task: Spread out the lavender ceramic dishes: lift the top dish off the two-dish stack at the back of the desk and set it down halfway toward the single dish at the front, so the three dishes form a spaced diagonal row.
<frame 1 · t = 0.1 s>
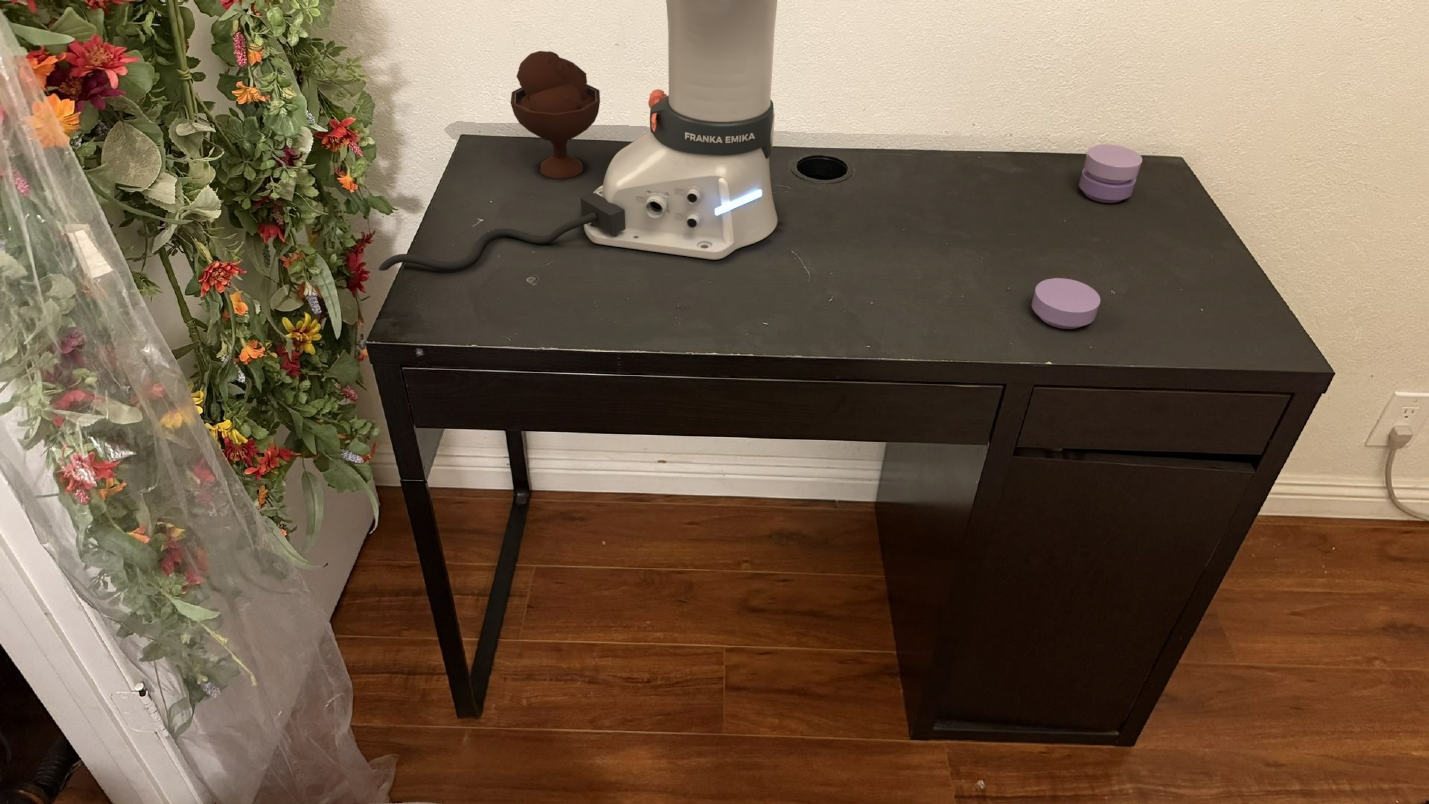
ice cream bowl: (561, 170, 126), on the table
dish bottom: (1103, 194, 124), on the table, touching dish top
dish front: (1061, 315, 102), on the table
dish top: (1109, 175, 122), point 3 cm above the table, touching dish bottom
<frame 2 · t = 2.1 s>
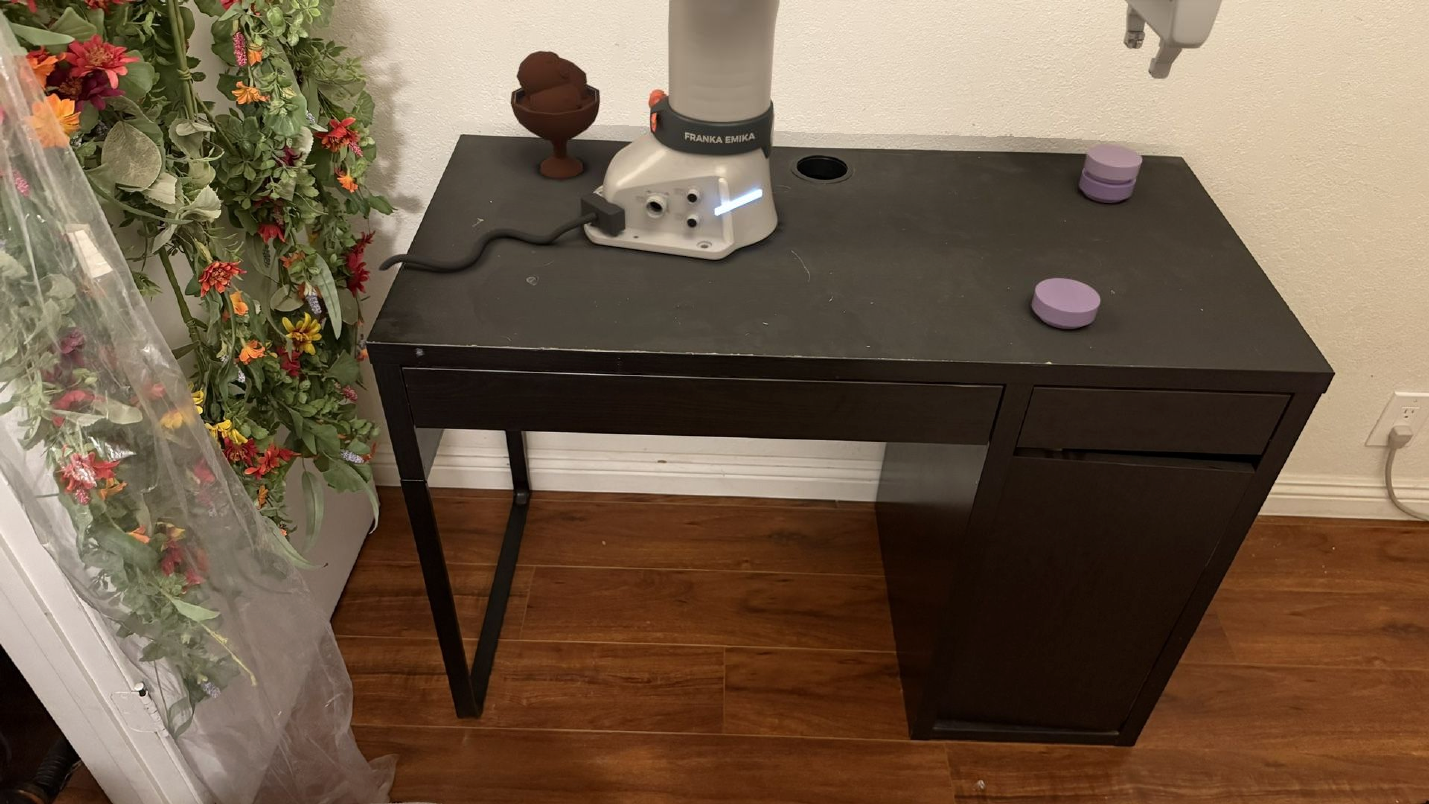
hand: (1144, 61, 113), 17 cm above the table, tool pointing down, fingers open, 8 cm apart
nothing on the table moved.
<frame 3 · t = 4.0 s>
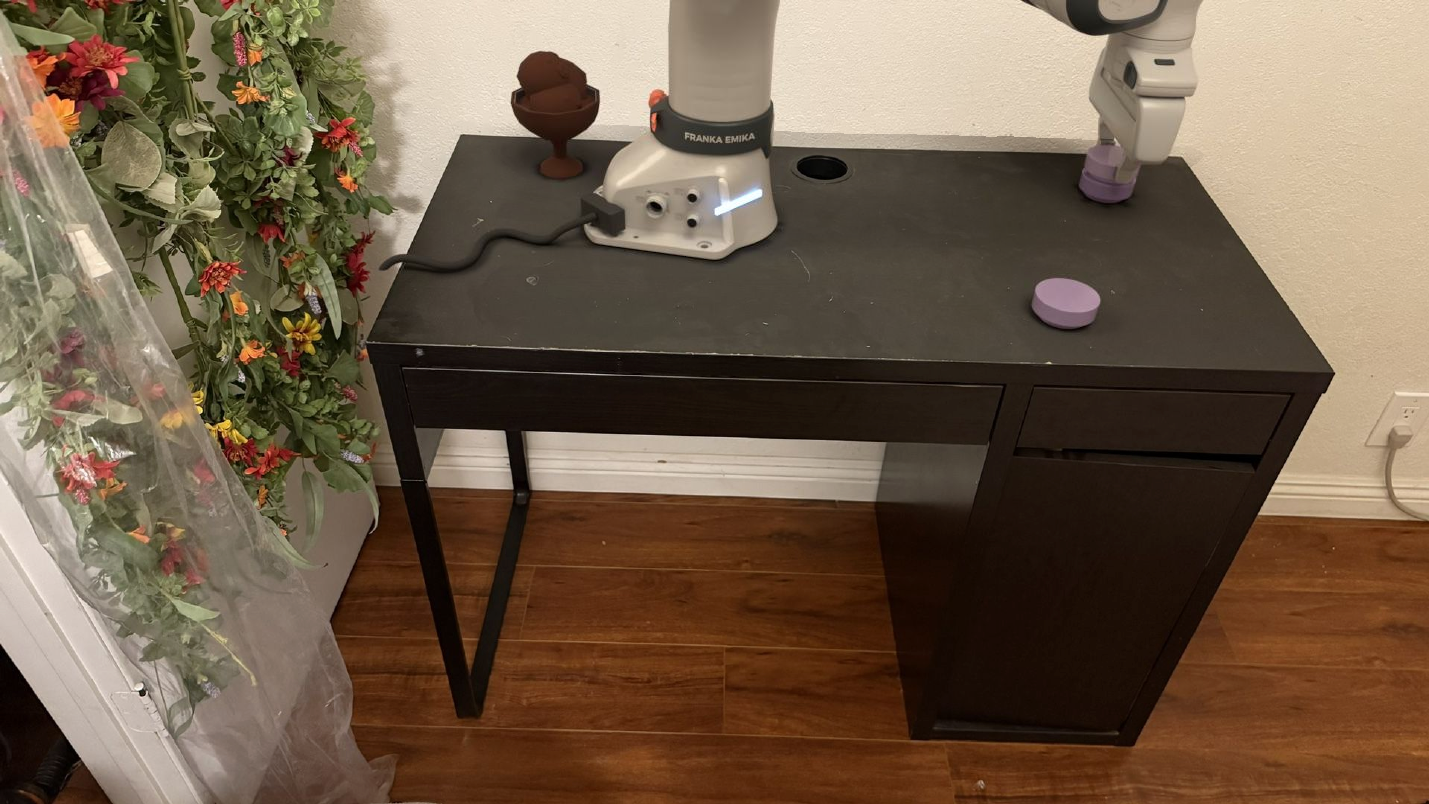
hand: (1112, 166, 121), 4 cm above the table, tool pointing down, fingers closed on dish top, 6 cm apart
dish top: (1109, 175, 122), point 3 cm above the table, touching dish bottom, gripper
everything else where it was.
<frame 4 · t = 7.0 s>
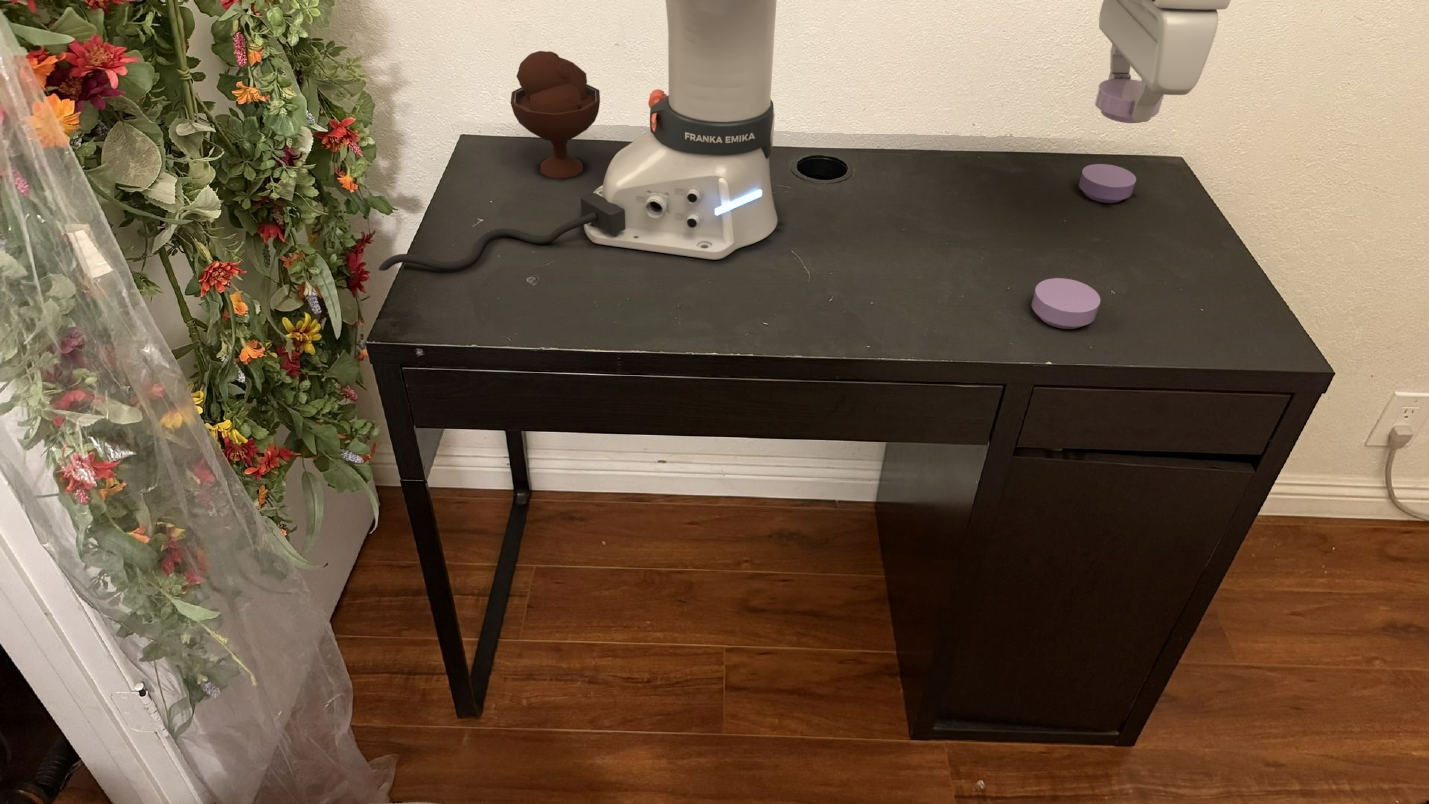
hand: (1127, 104, 103), 17 cm above the table, tool pointing down, fingers closed on dish top, 6 cm apart
dish bottom: (1103, 194, 124), on the table
dish top: (1124, 114, 104), point 16 cm above the table, touching gripper
everything else where it was.
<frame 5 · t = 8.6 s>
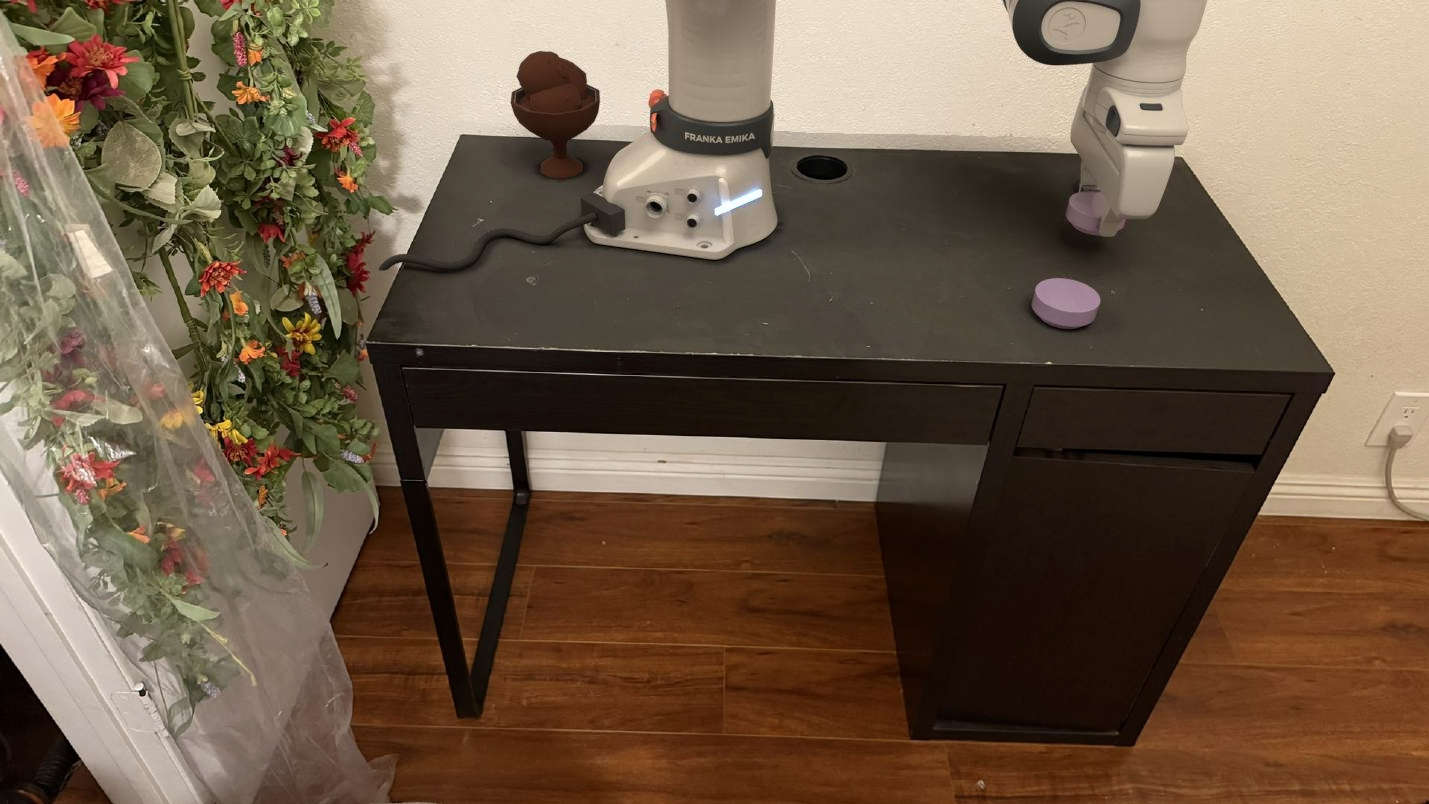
hand: (1095, 216, 110), 4 cm above the table, tool pointing down, fingers closed on dish top, 6 cm apart
dish top: (1093, 225, 111), point 3 cm above the table, touching gripper
everything else where it was.
when the fingers open (1 cm above the table, at t = 10.0 s): dish top stays where it is, on the table.
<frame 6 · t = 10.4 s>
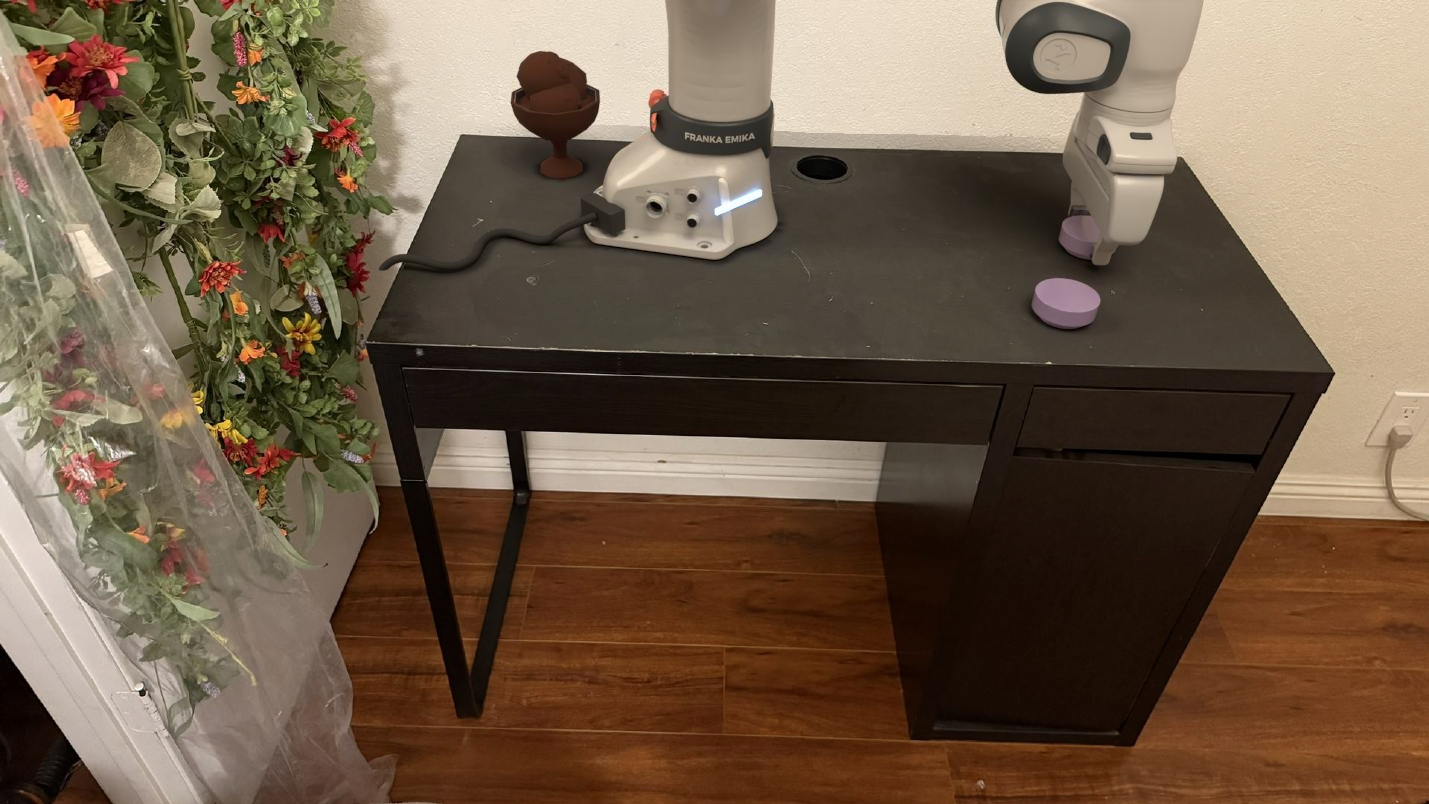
hand: (1086, 240, 112), 1 cm above the table, tool pointing down, fingers open, 8 cm apart
dish top: (1085, 249, 113), on the table
everything else where it was.
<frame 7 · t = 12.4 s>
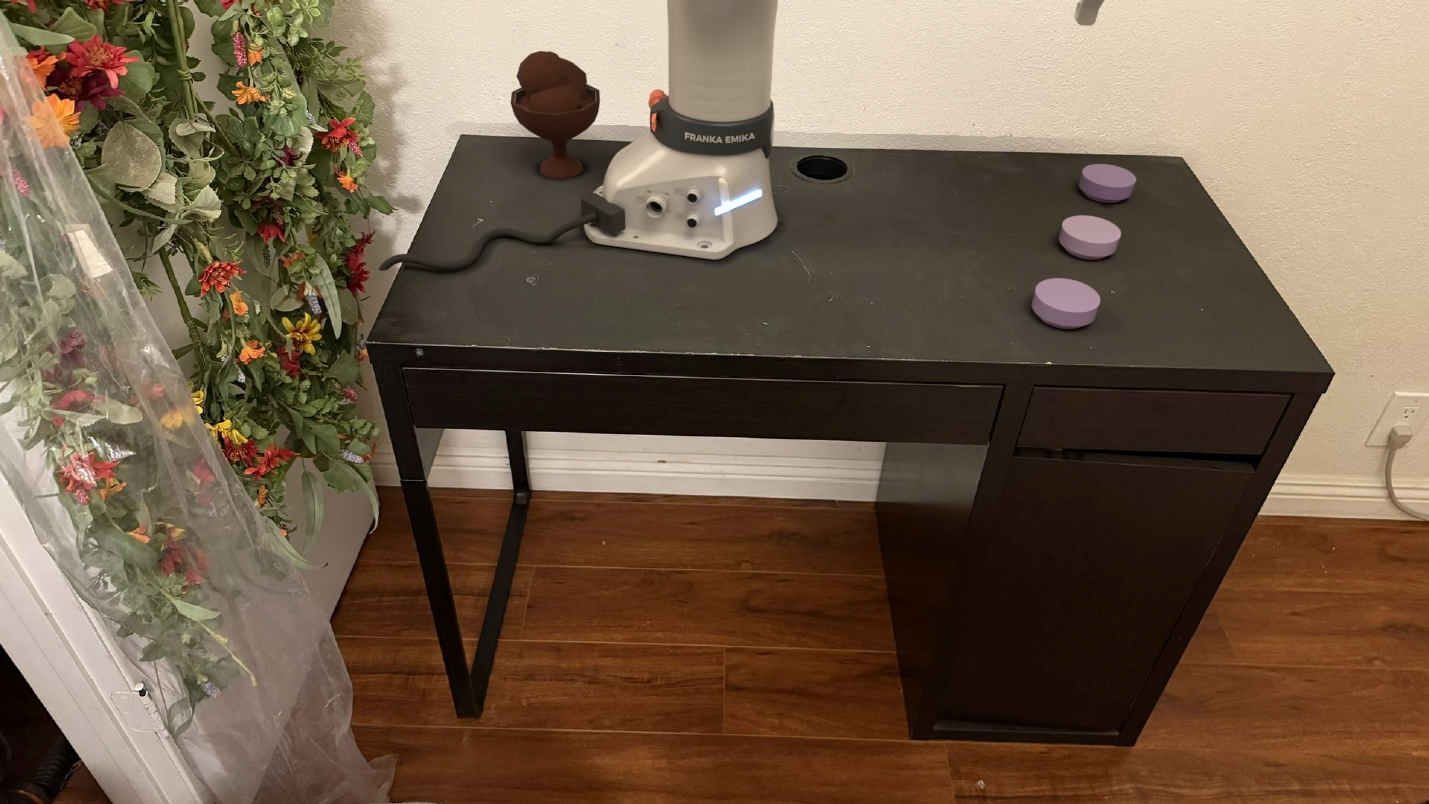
hand: (1072, 8, 103), 24 cm above the table, tool pointing down, fingers open, 8 cm apart
nothing on the table moved.
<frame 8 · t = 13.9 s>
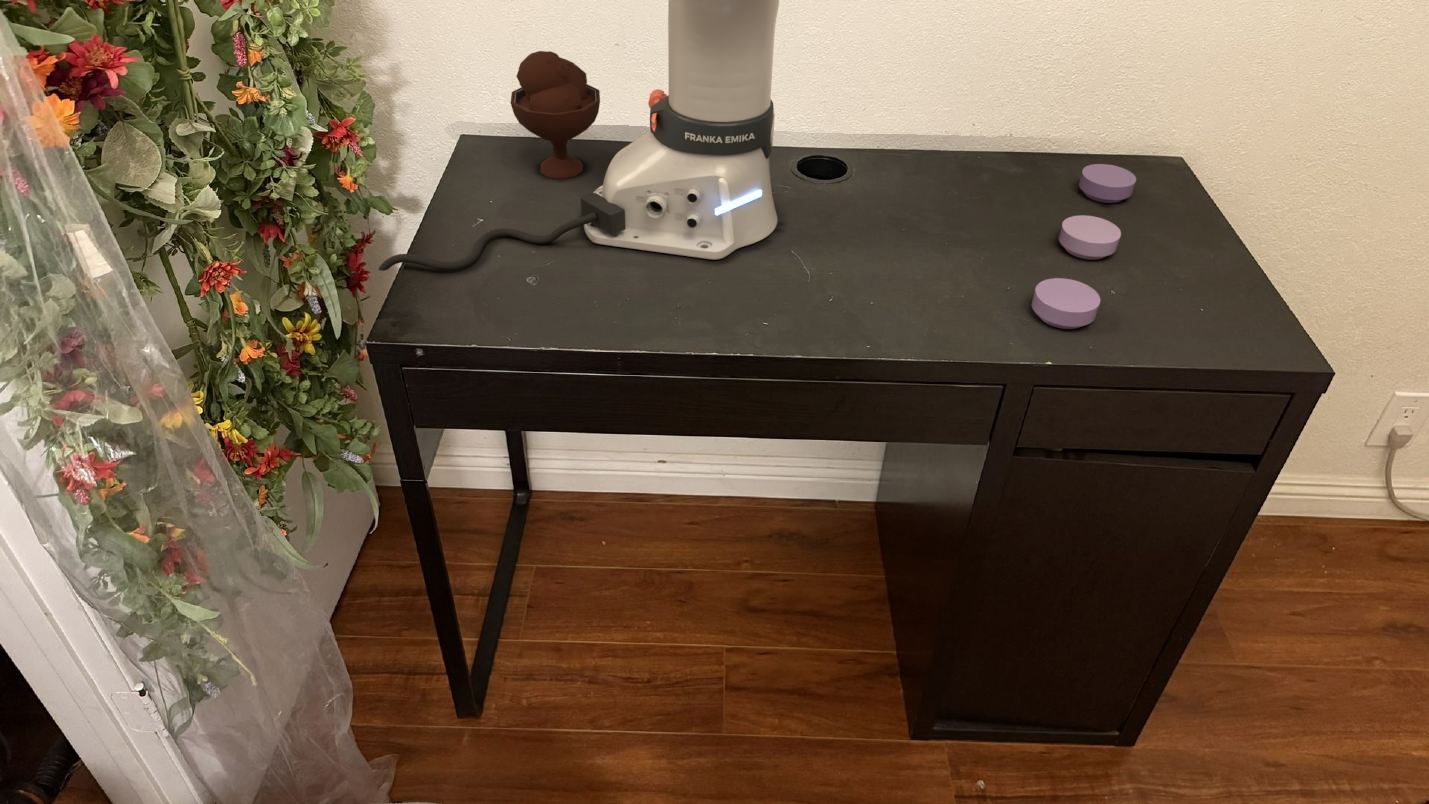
nothing on the table moved.
at the end: dish top inside the target area (0.1 cm from its centre), on the table; dish bottom 0.0 cm from the target spot, on the table; dish front 0.0 cm from the target spot, on the table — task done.
